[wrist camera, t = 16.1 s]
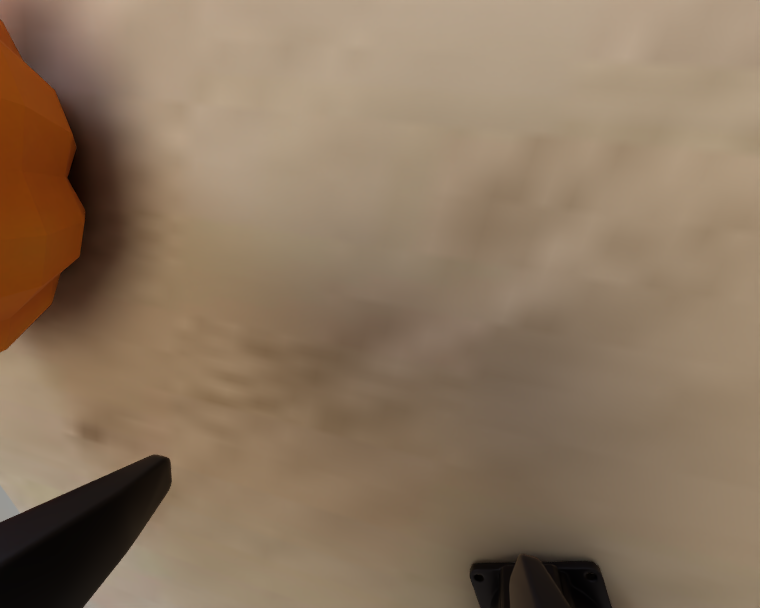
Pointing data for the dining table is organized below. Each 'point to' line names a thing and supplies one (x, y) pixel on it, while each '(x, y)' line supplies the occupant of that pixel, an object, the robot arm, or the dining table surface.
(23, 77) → the decorative pumpkin
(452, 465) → the dining table surface
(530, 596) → the robot arm
